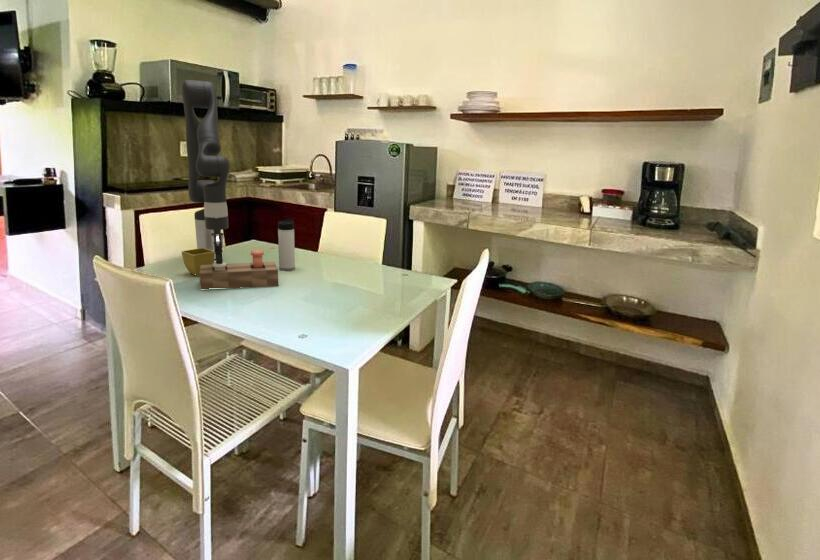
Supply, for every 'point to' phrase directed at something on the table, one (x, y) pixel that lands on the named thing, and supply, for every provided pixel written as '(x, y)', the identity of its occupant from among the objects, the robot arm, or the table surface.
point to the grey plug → (219, 266)
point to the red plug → (257, 258)
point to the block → (239, 276)
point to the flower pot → (197, 259)
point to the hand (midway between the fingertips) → (219, 263)
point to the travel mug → (286, 245)
